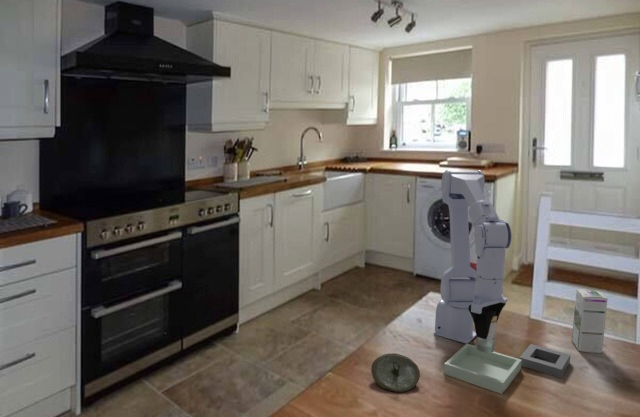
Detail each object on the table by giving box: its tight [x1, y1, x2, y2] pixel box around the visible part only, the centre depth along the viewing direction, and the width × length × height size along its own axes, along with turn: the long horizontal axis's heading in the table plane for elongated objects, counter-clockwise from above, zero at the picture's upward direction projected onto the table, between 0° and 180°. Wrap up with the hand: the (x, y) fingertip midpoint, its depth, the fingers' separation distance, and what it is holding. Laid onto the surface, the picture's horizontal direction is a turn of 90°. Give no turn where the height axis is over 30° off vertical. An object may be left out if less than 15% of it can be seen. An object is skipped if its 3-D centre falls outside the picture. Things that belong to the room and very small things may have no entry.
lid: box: [370, 353, 421, 393], centre depth 105 cm, size 11×10×5 cm
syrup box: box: [571, 288, 608, 354], centre depth 121 cm, size 6×6×14 cm
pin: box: [475, 314, 498, 353], centre depth 108 cm, size 4×4×8 cm
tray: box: [443, 343, 522, 395], centre depth 109 cm, size 13×13×2 cm
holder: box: [519, 343, 571, 379], centre depth 113 cm, size 9×9×2 cm
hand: (485, 334), depth 108 cm, fingers closed on pin, 4 cm apart
